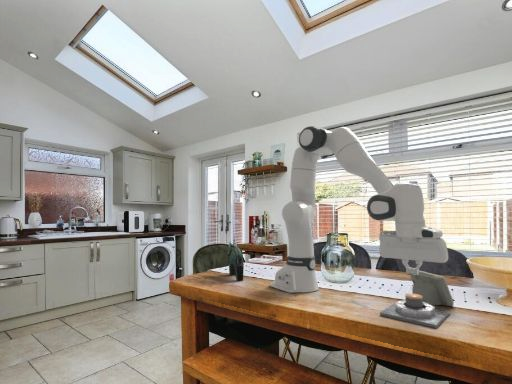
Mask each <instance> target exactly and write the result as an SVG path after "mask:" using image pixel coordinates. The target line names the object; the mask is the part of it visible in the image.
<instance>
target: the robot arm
mask: <svg viewBox="0 0 512 384" xmlns="http://www.w3.org/2000/svg"><path fill="white" fill-rule="evenodd" d="M298 144H299V146H298V147H297V148H296V149H295V151H294V153H293V157H292V161H291V171H290V183H289V184H290V185H289V187H290V191H291V197H292V198H291V199H292V200H291V201H290V202H288V203H286V204H285V205H284V206H283V208H282V209H281V210H282V211H281V217H282V219H283V221H284V224H285V228H286V233H287V237H288V238H287V239H288V256H287V257H286V256H285V258H284V261H286V262H285V264H284V265H283V266H282V267H281V268H279V270H277V271H276V272H275V276H274V281H272V282H270V284H269V287H272V288H275V289H277V290H281V291H284V292H285V293H286V292H287V293H290V294H292V293H311V292H315V291H318V290H319V289H320V287H319V283H318V281H317V280H318V279H317V276H316V257H315V252H314V250H315V247H314V236H313V233H312V230H311V229H312V228H311V223H312V222H313V221H314V219H315V218H316V216H317V210H316V191H315V189H316V176H317V164H318V160H319V159H320V158H321V159H322V160H325V159H327V158H329V157H330V158H331V157H333V156H334V157H335V158H336V160H337V163H339V165H340V166H341V168H342V169H343V170H344V171H345V172H347V173H349V174H351V175H354V176H356V177H359V178H360V179H364V180H365V181H367V182H368V183H369V185H371V187H372V188H373V189H374V191H375V192H376V193H377V194H374V195H372V196H371V197H370V198H369V199H368V201H367V204H366V210H367V213H368V215H369V217H370V218H371V219H373V220H374V221H379V222H392V221H393V222H394V225H395V226H394V227H395V228H394V229H395V230H382V231H381V232H379V236H378V240H379V248H378V249H379V253H378V254H379V255H380V257H381V258H386V259H396V260H397V259H398V260H401V262H402V264H403V266H404V267H405V271H406V274H409V275H410V274H412V273H413V274H416V275H418V274H419V271H420V268H421V266H422V265H423V262H427V263H428V262H430V263H440V264H444V263H446V262H448V260H449V250H448V246H447V243H446V241H445V239H443V238H442V237H443V231H442V230H441V229H437V228H435V227H434V228H433V227H430V226H426V220H425V218H424V212H425V203H424V202H425V201H424V196H423V195H424V194H423V190H422V188H421V186H420V185H419V184H417V183H408V182H407V183H406V182H397V183H395V184H393V183H392V182H391V181H390V179H389V177H387V175H386V174H385V172H384V171H383V170H382V169H381V168H380V166H378V164H377V163H376V162H375V160H374V159H373V158H372V157H371V155H370V153H368V151H367V149H366V148H365V147H364V145H363V143H362V142H361V141H360V139H359V138H358V137H357V135H356V134H355V133H354V132H353V131H352V130H351V129H350V128H348V127H345V126H341V127H337V128H336V129H334V130H333V131H331V130H328V129H326V128H321V127H318V126H311V125H310V126H307V127H304V128H303V129H302V130H301V131H300V134H299V136H298ZM410 261H415V264H416V267H411V266H410V265H409V262H410Z"/></svg>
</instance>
